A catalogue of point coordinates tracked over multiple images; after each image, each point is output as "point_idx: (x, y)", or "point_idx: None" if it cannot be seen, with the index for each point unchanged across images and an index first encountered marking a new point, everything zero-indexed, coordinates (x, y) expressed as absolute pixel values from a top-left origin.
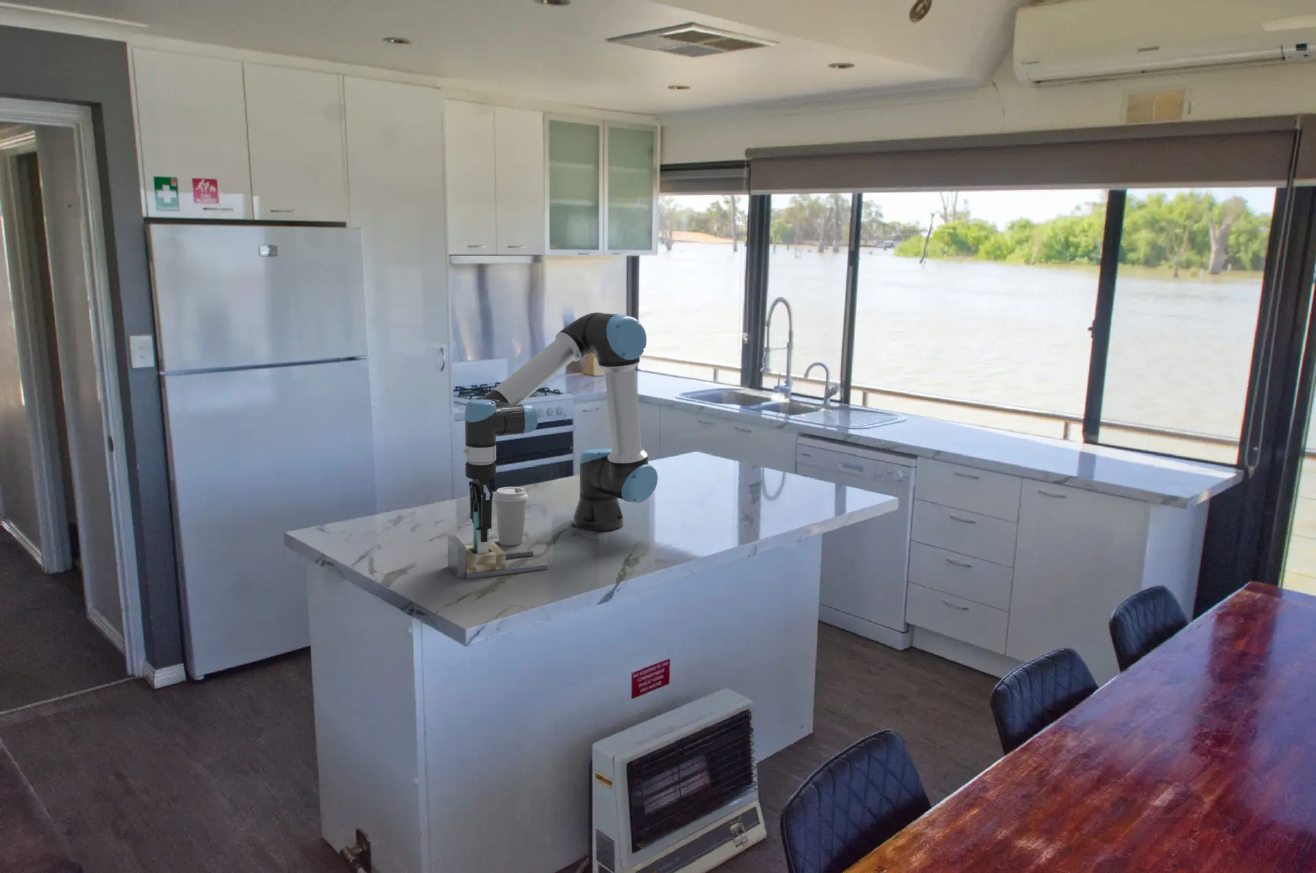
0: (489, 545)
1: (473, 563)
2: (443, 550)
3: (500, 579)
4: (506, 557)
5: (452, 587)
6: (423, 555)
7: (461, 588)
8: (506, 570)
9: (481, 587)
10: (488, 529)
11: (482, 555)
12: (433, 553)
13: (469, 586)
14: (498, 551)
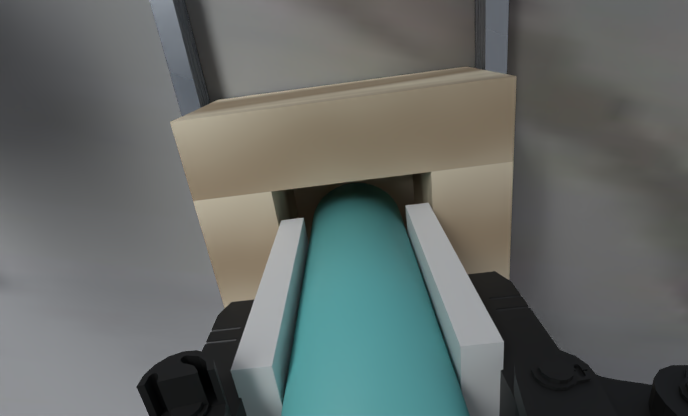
0: (254, 173)
1: None
2: (21, 331)
3: (565, 116)
4: (181, 3)
5: (570, 345)
6: (104, 409)
7: (602, 314)
8: (505, 65)
9: (636, 231)
10: (500, 335)
11: (489, 256)
12: (73, 373)
13: (593, 280)
14: (434, 125)
